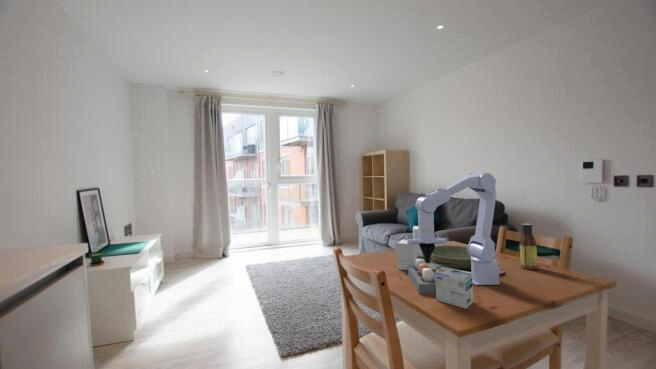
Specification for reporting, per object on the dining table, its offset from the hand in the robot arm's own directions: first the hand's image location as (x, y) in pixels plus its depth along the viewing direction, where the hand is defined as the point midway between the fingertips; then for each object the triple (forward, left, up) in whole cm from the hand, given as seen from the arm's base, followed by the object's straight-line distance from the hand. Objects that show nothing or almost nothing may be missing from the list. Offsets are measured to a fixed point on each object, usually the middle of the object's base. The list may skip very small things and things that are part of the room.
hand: (427, 262), depth 114 cm
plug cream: (0, 0, -7) cm, 7 cm away
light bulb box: (-6, +11, -11) cm, 17 cm away
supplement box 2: (-9, -46, -11) cm, 48 cm away
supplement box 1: (+3, -24, -11) cm, 27 cm away
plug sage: (0, -12, -7) cm, 14 cm away
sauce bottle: (-50, -22, -11) cm, 55 cm away
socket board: (0, -6, -10) cm, 12 cm away
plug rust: (0, -6, -7) cm, 10 cm away
